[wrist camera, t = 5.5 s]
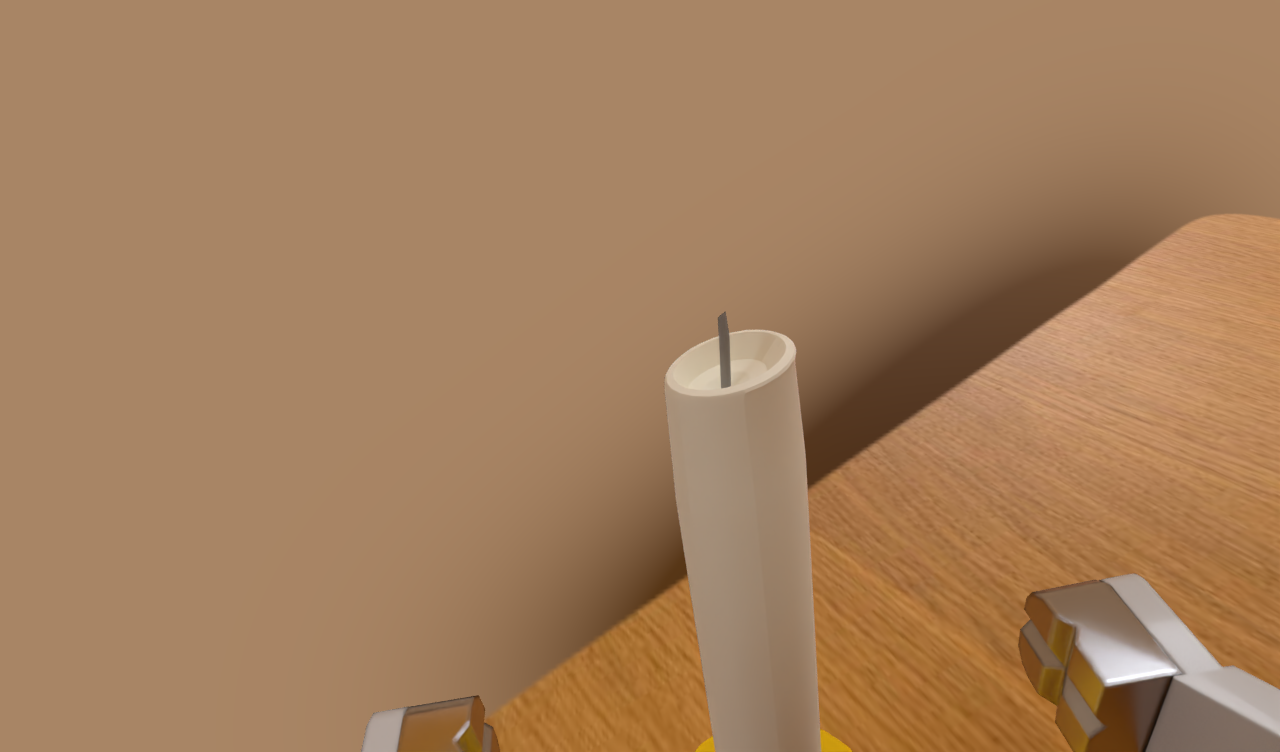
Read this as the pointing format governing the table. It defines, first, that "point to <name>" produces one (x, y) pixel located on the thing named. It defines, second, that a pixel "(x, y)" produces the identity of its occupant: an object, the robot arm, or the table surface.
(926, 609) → the table surface
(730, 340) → the candle
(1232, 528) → the table surface
